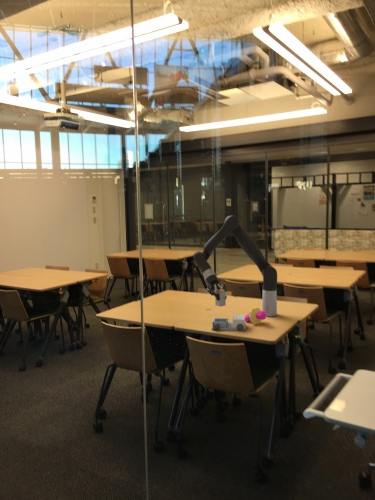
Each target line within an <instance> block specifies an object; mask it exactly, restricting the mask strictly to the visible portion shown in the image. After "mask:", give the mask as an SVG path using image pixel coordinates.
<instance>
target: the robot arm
mask: <svg viewBox="0 0 375 500" xmlns="http://www.w3.org/2000/svg"><path fill="white" fill-rule="evenodd" d="M230 234H232V235H233V237H234V238H235V239H236V241H237V242H238V244H239V246H240V247H241V248H242V250H243V251H244V253H245V254H246V256H247V257H248V258H249V259H250V260H251V261H252V262H253V263H254V264H255V265H256V266H257V269H258V270H259V272H260V274H261V275H262V280H263V281H262V288H261V289H262V292H261V293H262V297H261V299H262V311H265V313H266V314H267V316H266V317H277V316H278V312H277V311H278V305H277V303H278V302H277V286H278V271H277V269H276V268H275V267H274V266H272V265H271V264H270V263H269V261H268V260H267V259H266V257H265V256H264V254H263V252H262V250H261V248H260V247H259V245H258V244H257V243H256V241H255V240H254V239H253V238H252V237H251V236H250V235H249V234H248V233H247V232H246V231H245V230H244V229H243V228H242V226H241V224H240V219H239V217H237V215H228V216H226V217H225V219H224V223H223V225H222V226H221V228H220V229H219V230H218V231H217V232H215V233H214V235H213V236H211V237H210V239H208V241H206V243H205V244H203V251H199V250H198V251H195V252H194V253H193V256H192V257H193V258H192V259H193V260H194V262H195V263H196V264H195V265H197V266H198V268H199V269H200V272H201V274H202V275H203V278H204V280H205V282H206V285H207V287H206V289H205V290H206V291H207V293H209V295H211V296H214V297H216V299H217V300H218V301H219V300H220V297H219V296H218V294H217V292H216V291H217V289H224V290H225V291H226V293H227V288H226V283H225V284H222V283H220V280H219V278H218V276H217V275H216V273H215V271H214V269H213V268H212V266H211V265H210V263H209V262H208V261H209V259H210V257H211V255H212V253H213V252H214V251H215V250H216V249H217V248H218V247H219V245H220V244H221V243H222V241H224V239H226V237H228V235H230ZM227 298H228V297H227V295H226V297H225V299H226V300H227Z"/></svg>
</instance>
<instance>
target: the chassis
mask: <svg viewBox="0 0 375 500" xmlns="http://www.w3.org/2000/svg"><path fill="white" fill-rule="evenodd" d="M245 316H246V315H245V314H233V315H232V321H231V322H229V317H228V318H227V317H226V318H225V317H223V318H222V317H220V318H219V317H213V319H212V325H211V331H216V332H217V331H232V332H233V331H238V332H243V331H244V332H245V331H246V321H245Z"/></svg>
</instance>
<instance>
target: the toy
mask: <svg viewBox="0 0 375 500" xmlns="http://www.w3.org/2000/svg"><path fill="white" fill-rule="evenodd" d="M267 317H268V316H267V314H266V313H265V311H263V310H261V309H260V308H259V307H256V308H252V309H251V310H250V312H249V313H247V314H246V315H245V322H247V323H249V322H251V323H252V324H253V325H258V324H261V323H262V320H263V321H264V320H265V319H266V318H267Z"/></svg>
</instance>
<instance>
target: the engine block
mask: <svg viewBox="0 0 375 500" xmlns="http://www.w3.org/2000/svg"><path fill="white" fill-rule="evenodd" d="M226 291H227V290H226ZM226 291H225V290H224V289H217V291H216V292H217V294H218V296H219V297H220V300H219V301H218V300H217V299H216V297H215V296H214V297H215V303H214V304H215V307H216V306H217V307H225V306H226V300H227V298H226V299H225V297H226V296H227V294H226V293H227V292H226Z"/></svg>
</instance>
